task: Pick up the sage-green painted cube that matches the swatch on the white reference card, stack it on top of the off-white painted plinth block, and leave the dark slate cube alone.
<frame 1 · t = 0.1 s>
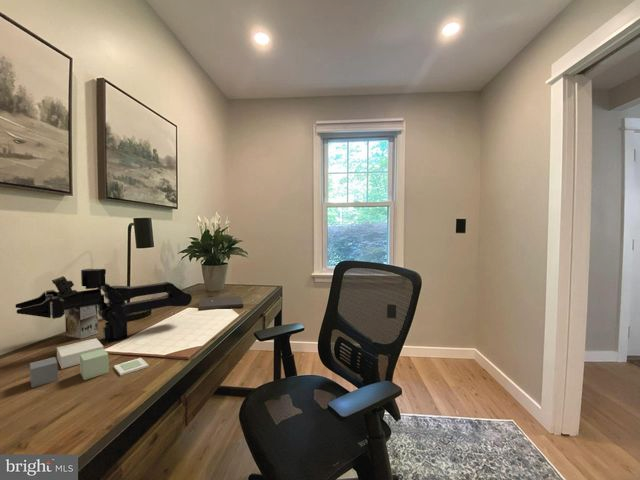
hand: (16, 308, 86), 17 cm above the table, tool horizontal, fingers open, 9 cm apart
coffee box: (82, 335, 109), on the table
slate cube: (44, 380, 76), on the table
reference card: (131, 367, 84), on the table
plinth: (80, 359, 89), on the table
sage cube: (94, 373, 80), on the table
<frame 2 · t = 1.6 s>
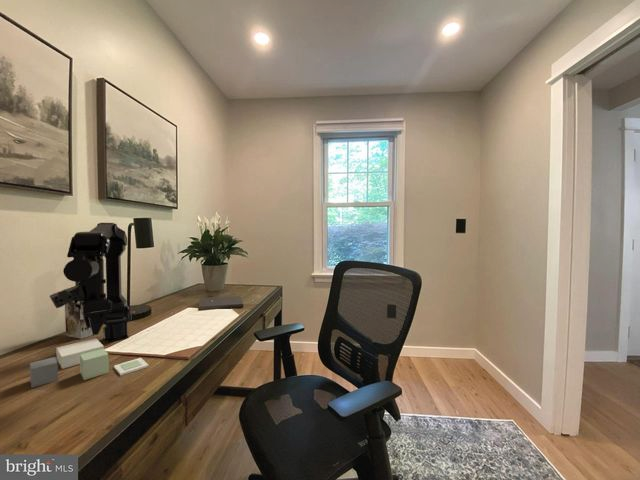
hand: (92, 330, 80), 12 cm above the table, tool pointing down, fingers open, 9 cm apart
nothing on the table moved.
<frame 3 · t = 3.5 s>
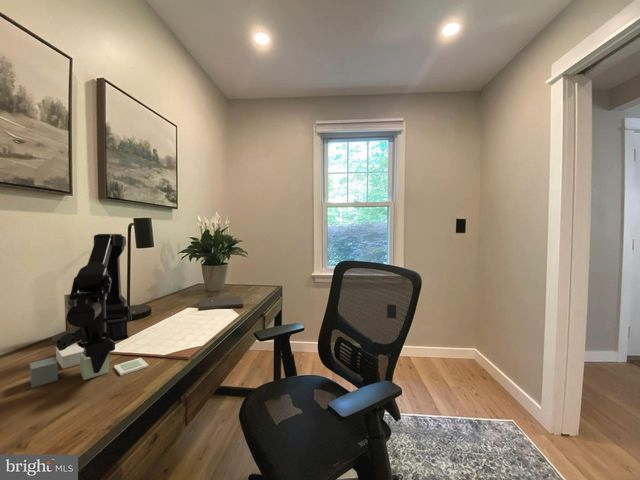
hand: (94, 369, 80), 1 cm above the table, tool pointing down, fingers closed on sage cube, 5 cm apart
sage cube: (94, 372, 80), on the table, touching gripper
everything else where it was.
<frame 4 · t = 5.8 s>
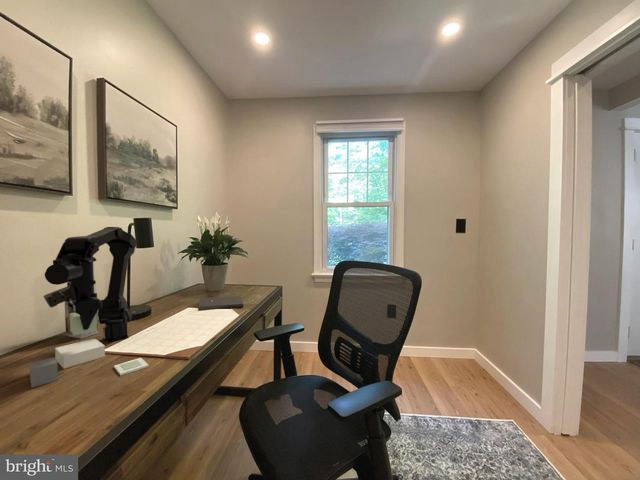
hand: (83, 327, 87), 11 cm above the table, tool pointing down, fingers closed on sage cube, 5 cm apart
sage cube: (83, 330, 87), point 10 cm above the table, touching gripper
everything else where it was.
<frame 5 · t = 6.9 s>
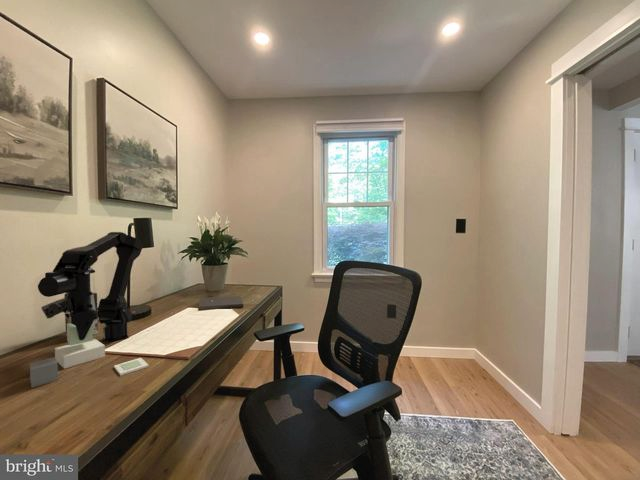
hand: (80, 337, 89), 7 cm above the table, tool pointing down, fingers closed on sage cube, 5 cm apart
sage cube: (80, 340, 89), point 6 cm above the table, touching gripper
everything else where it was.
when the fingers open (6 cm above the table, at t = 7.8 s): sage cube drops 2 cm, resting on plinth.
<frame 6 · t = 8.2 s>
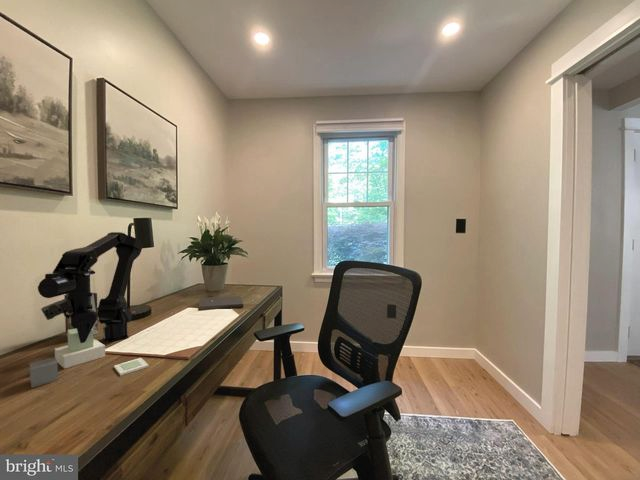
hand: (80, 338, 89), 6 cm above the table, tool pointing down, fingers open, 9 cm apart
plinth: (80, 359, 89), on the table, touching sage cube
sage cube: (80, 346, 89), point 4 cm above the table, touching plinth
everything else where it was.
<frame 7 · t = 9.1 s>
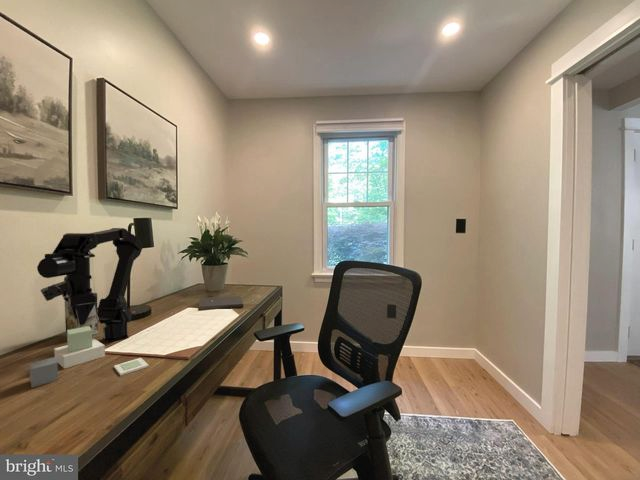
hand: (79, 321, 89), 12 cm above the table, tool pointing down, fingers open, 9 cm apart
plinth: (80, 359, 89), on the table
sage cube: (80, 347, 89), point 4 cm above the table
everything else where it was.
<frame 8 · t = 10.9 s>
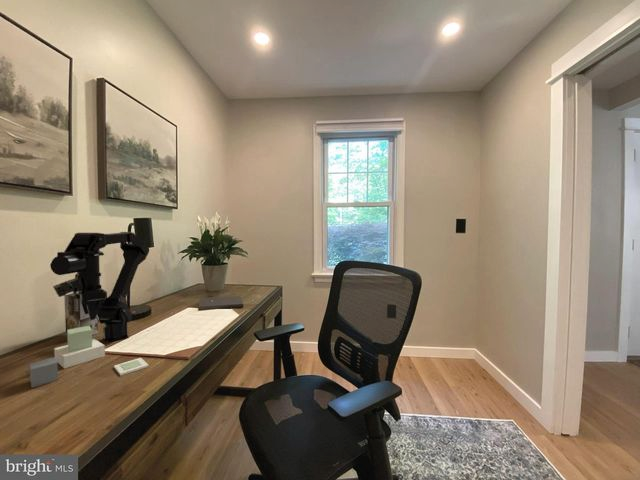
hand: (89, 316, 93), 12 cm above the table, tool pointing down, fingers open, 9 cm apart
plinth: (80, 359, 89), on the table, touching sage cube
sage cube: (80, 346, 89), point 4 cm above the table, touching plinth
everything else where it was.
at the end: sage cube 0.0 cm off-centre on the plinth, point 4.0 cm above the plinth's base; sage cube tilted 0°; slate cube moved 0.1 cm from its start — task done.
